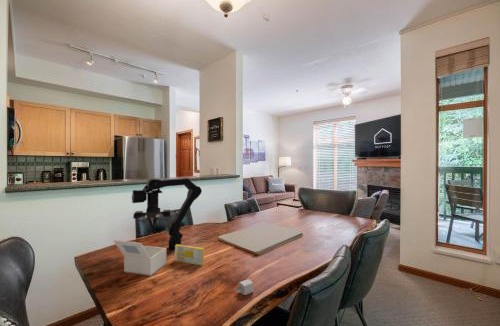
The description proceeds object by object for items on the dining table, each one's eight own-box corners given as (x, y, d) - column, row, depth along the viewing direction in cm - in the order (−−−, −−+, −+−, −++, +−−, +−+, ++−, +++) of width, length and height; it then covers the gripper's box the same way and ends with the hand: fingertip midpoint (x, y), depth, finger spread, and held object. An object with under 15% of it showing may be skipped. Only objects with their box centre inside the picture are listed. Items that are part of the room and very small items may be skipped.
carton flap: (113, 239, 99) (113, 240, 99) (141, 242, 96) (140, 243, 96) (124, 255, 106) (123, 256, 105) (150, 258, 102) (149, 259, 102)
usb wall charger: (253, 292, 91) (253, 282, 91) (238, 298, 87) (238, 288, 87) (247, 288, 94) (247, 278, 94) (233, 293, 90) (233, 283, 90)
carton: (142, 260, 117) (142, 245, 117) (166, 264, 114) (166, 248, 114) (124, 272, 106) (124, 255, 106) (150, 276, 103) (150, 258, 102)
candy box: (204, 264, 115) (204, 248, 115) (202, 266, 113) (202, 249, 113) (177, 259, 120) (177, 243, 120) (174, 261, 118) (174, 245, 118)
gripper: (131, 205, 117) (131, 235, 117) (170, 203, 122) (169, 232, 123) (135, 201, 128) (135, 228, 128) (170, 199, 133) (170, 226, 133)
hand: (152, 229), depth 128 cm, fingers closed
